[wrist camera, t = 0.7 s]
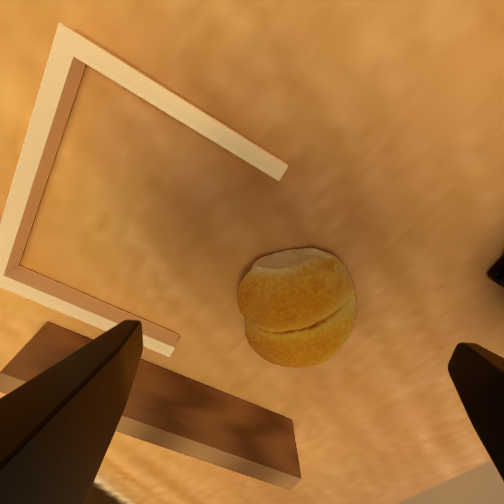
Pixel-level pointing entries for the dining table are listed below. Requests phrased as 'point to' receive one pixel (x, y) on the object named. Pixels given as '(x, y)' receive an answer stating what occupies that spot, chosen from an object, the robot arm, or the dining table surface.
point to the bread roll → (297, 306)
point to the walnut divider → (179, 413)
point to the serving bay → (42, 157)
